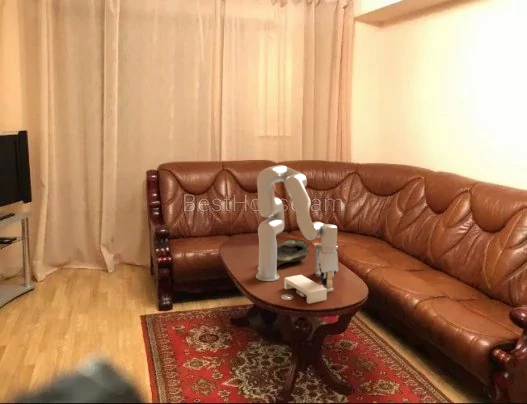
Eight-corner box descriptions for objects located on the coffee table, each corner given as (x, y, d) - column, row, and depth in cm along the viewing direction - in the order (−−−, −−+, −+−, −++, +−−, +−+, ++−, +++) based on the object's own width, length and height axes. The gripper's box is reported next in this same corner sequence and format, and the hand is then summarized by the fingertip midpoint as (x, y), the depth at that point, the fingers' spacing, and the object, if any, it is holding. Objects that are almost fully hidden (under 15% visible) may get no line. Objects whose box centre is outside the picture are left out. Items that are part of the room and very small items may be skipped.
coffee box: (331, 272, 266) (332, 244, 263) (333, 276, 260) (334, 248, 257) (314, 272, 266) (316, 244, 263) (316, 276, 260) (317, 248, 257)
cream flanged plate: (284, 288, 243) (284, 277, 241) (300, 284, 247) (301, 274, 246) (309, 303, 224) (309, 292, 223) (326, 299, 229) (326, 289, 228)
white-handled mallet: (296, 292, 236) (297, 273, 235) (326, 286, 245) (326, 268, 243) (303, 297, 231) (303, 277, 229) (333, 290, 240) (334, 271, 238)
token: (278, 296, 232) (278, 295, 232) (289, 294, 235) (289, 293, 235) (285, 301, 227) (285, 299, 227) (295, 299, 230) (296, 297, 230)
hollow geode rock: (305, 266, 290) (297, 245, 297) (315, 257, 281) (306, 234, 288) (265, 272, 276) (257, 249, 283) (274, 262, 267) (266, 238, 274)
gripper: (337, 245, 245) (335, 279, 249) (310, 249, 237) (309, 284, 241) (346, 249, 239) (344, 284, 242) (319, 253, 231) (317, 289, 234)
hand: (327, 284), depth 241 cm, fingers closed on white-handled mallet, 3 cm apart
